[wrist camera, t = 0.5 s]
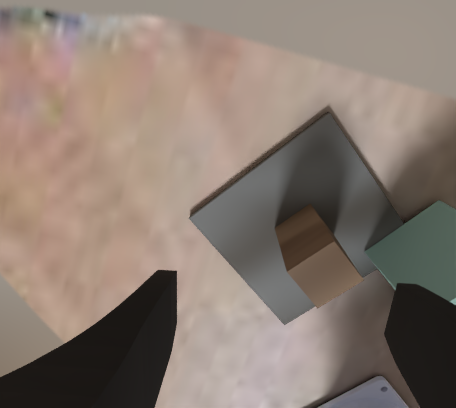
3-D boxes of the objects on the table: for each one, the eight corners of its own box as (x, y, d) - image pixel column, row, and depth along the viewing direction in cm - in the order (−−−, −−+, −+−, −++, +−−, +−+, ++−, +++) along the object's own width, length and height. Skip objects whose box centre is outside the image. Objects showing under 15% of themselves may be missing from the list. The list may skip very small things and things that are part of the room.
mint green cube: (475, 256, 21) (569, 323, 16) (404, 302, 22) (469, 379, 17) (439, 199, 20) (530, 251, 14) (364, 251, 21) (421, 318, 15)
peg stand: (414, 241, 21) (472, 291, 16) (283, 321, 23) (297, 387, 18) (327, 112, 18) (363, 123, 13) (189, 216, 21) (175, 259, 16)
